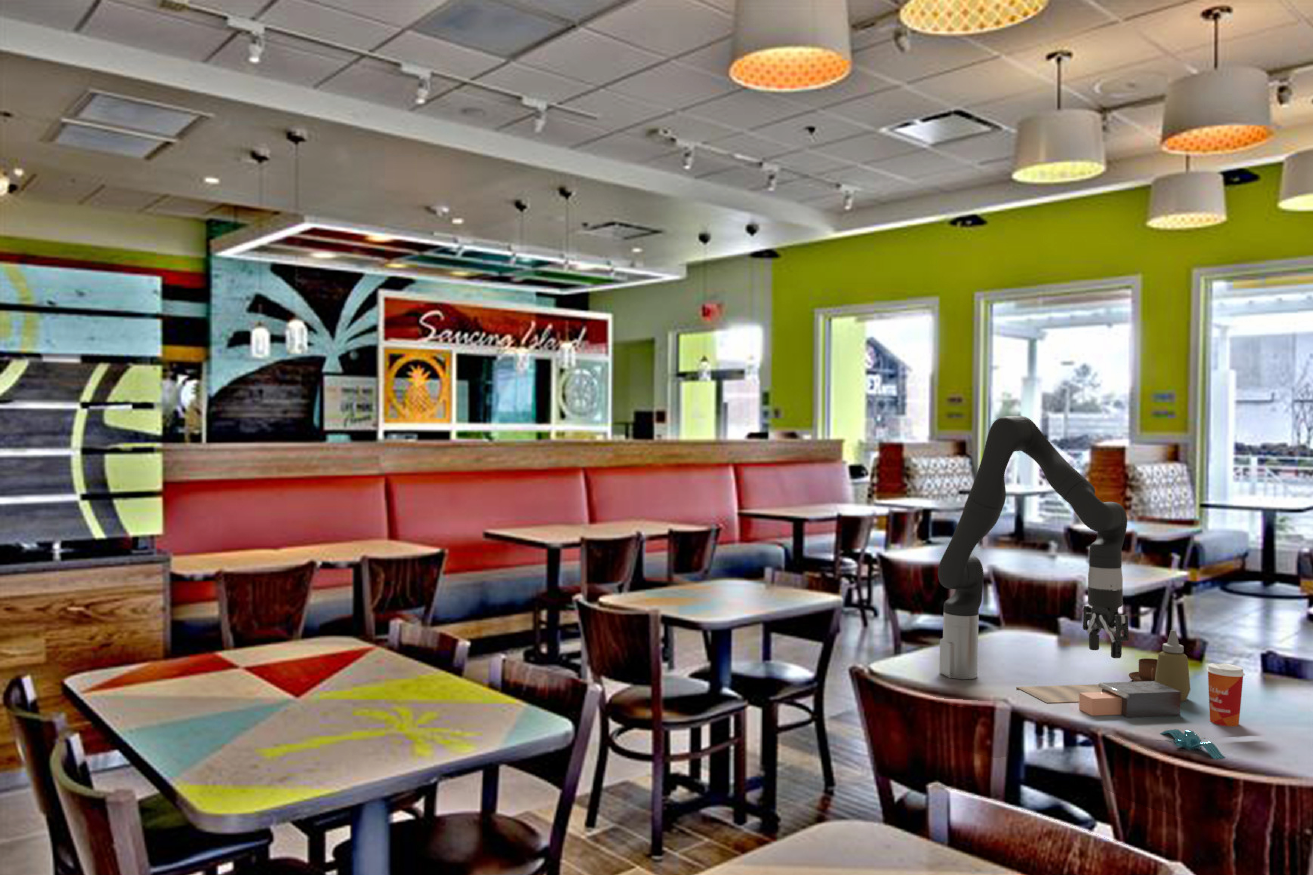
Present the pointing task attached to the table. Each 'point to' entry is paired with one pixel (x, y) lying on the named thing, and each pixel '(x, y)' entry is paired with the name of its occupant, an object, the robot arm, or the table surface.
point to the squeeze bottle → (1173, 667)
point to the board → (1059, 692)
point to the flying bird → (1193, 742)
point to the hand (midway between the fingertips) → (1104, 653)
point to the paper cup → (1225, 693)
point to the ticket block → (1100, 703)
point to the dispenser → (1145, 698)
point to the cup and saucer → (1145, 670)
